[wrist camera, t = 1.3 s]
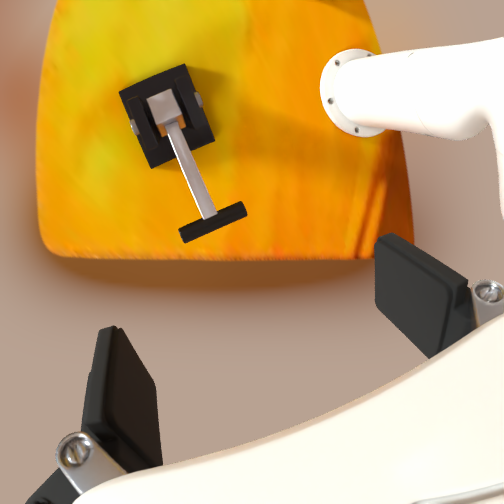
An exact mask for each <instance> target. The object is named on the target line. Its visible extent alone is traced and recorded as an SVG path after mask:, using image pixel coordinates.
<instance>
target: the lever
mask: <svg viewBox="0 0 504 504" xmlns="http://www.w3.org/2000/svg"><path fill="white" fill-rule="evenodd" d="M146 101H147V103H148V106H149V109H150V111H151V114H152V116H153V119H154V121H155V124H156V126H157V128H158V130H159V132H160V134H161V136H162V137H163V136H166V135H168V137H169V139H170V142H171V144H172V146H173V149H174V151H175V154H176V156H177V159H178V161H179V163H180V166H181V168H182V171H183V173H184V175H185V178H186V180H187V182H188V185H189V187H190V190H191V192H192V194H193V197H194V199H195V201H196V204H197V206H198V208H199V211H200V213H201V215H202V218H201V219H198V220H196V221H194V222H192V223H190V224H187V225H185V226H183V227H181V228H179V229H178V230H179V233H180V236H181V238H182V240H183V242H184V243H188V242H190V241H192V240H194V239H196V238H199V237H201V236H203V235H205V234H208V233H210V232H212V231H214V230H217V229H219V228H221V227H223V226H226V225H228V224H230V223H232V222H235V221H237V220H239V219H242V218H244V217H246V216H247V211H246V209H245V206H244V204H243V203H242V201H240V202H237V203H235V204H233V205H230V206H228V207H226V208H223V209H221V210H219V211H216V209H215V207H214V204H213V202H212V200H211V197H210V195H209V193H208V191H207V188H206V186H205V184H204V182H203V179H202V177H201V175H200V172H199V170H198V168H197V165H196V163H195V161H194V159H193V156H192V154H191V152H190V149H189V147H188V145H187V142H186V140H185V138H184V135H183V133H182V131H181V129H182V128H184V127H186V124H185V121H184V118H183V114H182V112H181V109H180V107H179V105H178V103H177V100H176V98H175V96H174V94H173V91H172V89H168V90H166V91H164V92H161V93H159V94H157V95H154V96H152V97H150V98H148V99H146Z"/></svg>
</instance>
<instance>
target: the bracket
mask: <svg viewBox="0 0 504 504" xmlns="http://www.w3.org/2000/svg"><path fill="white" fill-rule="evenodd" d="M168 89H172V91H173V94H174V96H175V98H176V100H177V103H178V105H179V107H180V109H181V112H182V114H183V118H184V121H185V124H186V127H184V128H182V129H181V131H182V133H183V135H184V138H185V140H186V142H187V145H188V147H189V149H190V151H192V150H195V149H197V148H199V147H202V146H204V145H207V144H209V143H212V142H214V141H215V139H214V136H213V134H212V131H211V129H210V126H209V123H208V121H207V118H206V116H205V113H204V111H203V108H202V107H203V102H202V99H201V97H200V95H199V93H198V92H196V90H195V88H194V85H193V83H192V80H191V78H190V75H189V73H188V70H187V68H186V65H185V64H182V65H179V66H177V67H174V68H171V69H169V70H166V71H164V72H162V73H159V74H157V75H154V76H152V77H150V78H147V79H145V80H143V81H141V82H138V83H136V84H134V85H132V86H130V87H128V88H125V89H123V90H121V91H119V95H120V97H121V100H122V102H123V105H124V107H125V109H126V112H127V114H128V117H129V119H130V124H131V127H132V130H133V132H134V134H135V135H136V136H137V138H138V140H139V143H140V145H141V147H142V150H143V152H144V154H145V156H146V159H147V161H148V163H149V165H150V168H151V169H152V168H154V167H156V166H159V165H161V164H163V163H165V162H167V161H170V160H172V159H174V158H176V157H177V156H176V154H175V151H174V149H173V146H172V144H171V142H170V139H169V137H168V135H166V136H163V137H162V136H161V134H160V132H159V130H158V128H157V126H156V124H155V121H154V119H153V116H152V114H151V111H150V109H149V106H148V103H147V101H146V99H148V98H150V97H152V96H154V95H157V94H159V93H161V92H164V91H166V90H168Z"/></svg>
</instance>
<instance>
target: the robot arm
mask: <svg viewBox="0 0 504 504" xmlns="http://www.w3.org/2000/svg"><path fill="white" fill-rule="evenodd" d="M335 63H336V65H335ZM320 93H321V99H322V103H323V106H324V108H325V110H326V113H327V114H328V116H329V117H330V119H331V120H332V121H333V122H334V123H335V125H336V126H337V127H339V128H340V129H341V130H343V131H344V132H346V133H348V134H351V135H354V136H359V137H372V136H375V135H378V134H380V133H381V132H383V131H384V130H385V129H391V130H397V131H404V132H410V133H416V134H422V135H427V136H432V137H438V138H443V139H448V140H454V141H461V140H466V139H470V138H472V137H474V136H476V135H477V134H479V133H480V132H481V131H483V130H484V129H485V128H486V127H487V126H488V125H490V127H491V130H492V134H493V139H494V145H495V148H496V156H497V166H498V177H499V191H500V204H501V212H502V216H503V220H504V37H501V38H496V39H491V40H486V41H480V42H474V43H468V44H459V45H451V46H441V47H431V48H422V49H414V50H407V51H400V52H394V53H387V54H381V55H375V54H373V53H371V52H369V51H366V50H362V49H350V50H346V51H343V52H340V53H338V54H336V55H335V56H334V57H332V58H331V59H330V61H329V62H328V63H327V64H326V66H325V68H324V70H323V73H322V76H321V82H320ZM328 100H329V103H328ZM374 251H375V303H376V306H377V308H378V309H379V310H380V311H381V312H382V313H383V314H384V315H385V316H386V317H387V318H388V319H389V320H390V321H391V322H392V323H393V324H394V325H395V326H396V327H397V328H399V330H400V331H401V332H402V333H404V334H405V336H406V337H408V339H409V340H410V341H411V342H412V343H413V344H414V345H415V346H417V348H418V349H419V350H420V351H421V352H422V353H423V354H424V355H425V356H427V357H428V359H429V360H427V361H426V362H424V363H422V364H421V365H419V366H417V367H416V368H414V369H412V370H410V371H409V372H407V373H405V374H403V375H402V376H400V377H398V378H397V379H394V380H393V381H391V382H389V383H387V384H385V385H383V386H381V387H380V388H378V389H376V390H374V391H372V392H370V393H368V394H366V395H364V396H362V397H360V398H358V399H356V400H354V401H352V402H350V403H347V404H345V405H343V406H341V407H339V408H336V409H335V410H332V411H330V412H327V413H325V414H323V415H321V416H318V417H316V418H313V419H311V420H309V421H306V422H304V423H301V424H299V425H296V426H293V427H291V428H288V429H286V430H283V431H280V432H278V433H275V434H272V435H269V436H267V437H263V438H260V439H258V440H255V441H251V442H248V443H245V444H242V445H239V446H236V447H233V448H229V449H226V450H222V451H219V452H215V453H211V454H207V455H204V456H200V457H196V458H192V459H188V460H184V461H180V462H176V463H172V464H167V465H163V460H162V451H161V442H160V432H159V422H158V409H157V396H156V386H155V383H154V381H153V379H152V378H151V376H150V374H149V373H148V371H147V369H146V368H145V366H144V365H143V363H142V361H141V360H140V358H139V356H138V355H137V353H136V351H135V350H134V348H133V346H132V345H131V343H130V341H129V339H128V337H127V336H126V334H125V332H124V331H123V329H122V328H119V329H118V328H117V327H116V326H111V327H107V328H104V329H101V330H99V333H98V338H97V342H96V348H95V353H94V358H93V364H92V369H91V372H90V373H89V376H88V382H87V388H86V395H85V402H84V409H83V417H82V426H81V432H74V433H71V434H69V435H67V436H66V437H64V438H63V439H62V440H61V442H60V443H59V445H58V447H57V449H56V455H55V456H56V462H57V464H58V466H59V468H58V469H57V470H56V471H55V472H54V473H53V474H52V475H51V476H50V477H49V478H48V479H47V480H46V481H45V482H44V483H43V484H42V486H40V487H39V488H38V489H37V491H36V492H35V493H34V494H33V495H32V496H31V497H30V498H29V499H28V500H27V502H26V503H25V504H504V287H503V286H502V285H501V284H499V283H497V282H495V281H491V280H480V281H477V282H475V283H474V284H473V285H472V287H471V289H470V288H469V287H467V285H468V279H466V278H464V277H463V276H461V275H460V274H458V273H457V272H456V271H454V270H452V269H451V268H449V267H448V266H446V265H444V264H443V263H441V262H440V261H438V260H437V259H435V258H434V257H432V256H431V255H429V254H427V253H426V252H424V251H422V250H420V249H419V248H418V247H416V246H414V245H413V244H411V243H409V242H408V241H406V240H404V239H403V238H401V237H399V236H398V235H396V234H394V233H389V234H386V235H383V236H381V237H379V238H378V239H377V242H376V243H375V245H374Z"/></svg>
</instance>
